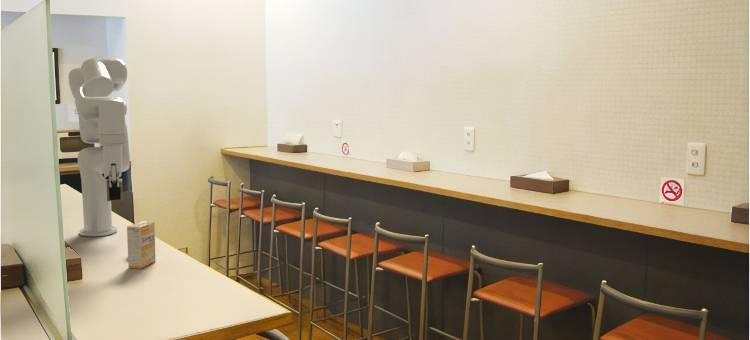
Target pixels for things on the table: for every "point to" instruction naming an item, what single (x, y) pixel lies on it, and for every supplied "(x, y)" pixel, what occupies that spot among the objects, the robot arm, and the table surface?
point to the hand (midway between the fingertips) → (115, 197)
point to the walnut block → (120, 190)
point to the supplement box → (141, 244)
